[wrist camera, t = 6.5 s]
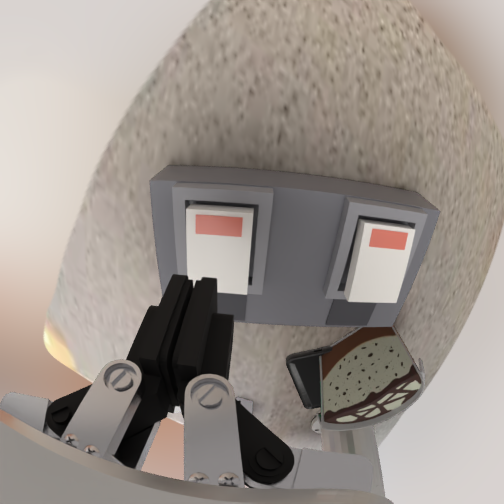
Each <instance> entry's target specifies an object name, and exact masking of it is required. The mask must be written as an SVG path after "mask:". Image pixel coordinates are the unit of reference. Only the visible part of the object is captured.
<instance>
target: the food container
mask: <svg viewBox="0 0 504 504" xmlns="http://www.w3.org/2000/svg"><path fill="white" fill-rule="evenodd" d="M330 347H333V348H332V351H330V352H328V353H325V354H324V355H322V356H319V361H320V385H321V414H318V413H317V414H316V415H317V418H318V421H319V424H321V426H322V429H326V430H333V431H345V430H355V429H360V428H365V427H368V426H372V425H375V424H378V423H381V422H383V421H386V420H388V419H390V418H392V417H394V416H396V415H398V414H400V413H401V412H403V411H404V410H406V409H407V408H408V407H410V406H411V405H412V404H413V403H414V402H416V400H417V399H418V398H419V397H420V396H421V394H422V392H423V390H424V386H425V384H424V383H425V374H424V367H423V362H422V360H421V359H420V358H419V365H420V371H419V369H418V367H417V365H416V364H415V362H414V360H413V358H412V356H411V355H410V353H409V351H408V349H407V347H406V346H405V344H404V342H403V340H402V339H401V337H400V335H399V334H398V332H397V330H396V329H395V327H394V325H393V326H392V327H358V328H357V329H355V330H354V331H352V332H351V333H349V334H347V335H346V336H344V337H343V338H341V339H340V340H338V341H337V342H335V343H333V344H332V345H330Z"/></svg>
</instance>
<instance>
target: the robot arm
mask: <svg viewBox="0 0 504 504" xmlns="http://www.w3.org/2000/svg"><path fill="white" fill-rule="evenodd" d="M233 329H234V315H231V314H220V313H218V306H217V278H210V277H202V279H201V280H196V282H195V285H194V286H193V280H190V279H188V276H187V275H178V274H173V275H172V277H171V279H170V281H169V283H168V286H167V288H166V290H165V292H164V295H163V297H162V299H161V302H160V304H159V306H152V305H151V306H150V307H149V308H148V310H147V312H146V315H145V317H144V319H143V321H142V324H141V326H140V328H139V330H138V333H137V335H136V337H135V340H134V342H133V344H132V347H131V349H130V351H129V354H128V356H127V359H126V360H124V359H120V360H114V361H111V362H110V363H108V364H106V365H105V366H104V368H103V369H102V370H101V371H100V373H99V375H98V376H97V378H96V379H95V381H94V383H93V384H91V385H89V386H87V387H85V388H82V389H80V390H78V391H76V392H73V393H71V394H69V395H67V396H64V397H62V398H59V399H57V400H55V401H54V402H52V401H50V400H49V399H46V398H40V397H35V396H29V395H24V394H20V393H15V392H10V393H8V394H6V395H5V396H4V397H3V399H2V401H1V403H0V504H393V502H392V501H390V500H389V499H387V498H385V492H384V485H383V478H382V472H381V465H380V459H379V454H378V448H377V443H376V437H375V432H374V427H373V425H372V426H368V427H365V428H360V429H355V430H345V431H333V430H326V429H322V426H321V424H319V421H318V418H317V417H315V418H314V419H313V421H312V423H311V425H312V430H313V431H314V432H316V433H318V434H321V440H322V451H321V450H314V449H308V448H303V449H297V448H292V447H288V445H287V444H285V443H284V442H283V441H282V440H281V439H279V438H278V437H277V436H276V435H275V434H274V433H272V432H271V431H270V430H269V429H268V428H267V427H266V426H264V425H263V424H262V423H261V422H260V421H259V420H258V419H257V418H256V417H254V416H253V415H252V414H251V413H250V412H249V411H248V410H247V409H246V408H245V407H244V406H243V405H242V404H241V403H240V402H239V401H238V400H236V399H235V393H234V389H233V386H232V385H231V384H230V382H229V381H228V378H229V370H230V361H231V352H232V343H233ZM175 406H178V407H179V406H180V409H181V412H182V415H183V418H184V480H178V479H173V478H168V477H164V476H159V475H155V474H150V473H147V472H143V471H141V468H142V466H143V464H144V461H145V459H146V456H147V454H148V452H149V449H150V447H151V445H152V442H153V440H154V438H155V435H156V433H157V431H158V428H159V426H160V422H161V420H162V419H164V418H166V417H167V413H168V412H170V413H174V410H175ZM244 484H245V485H246V486H248V487H249V488H245V486H244Z"/></svg>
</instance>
